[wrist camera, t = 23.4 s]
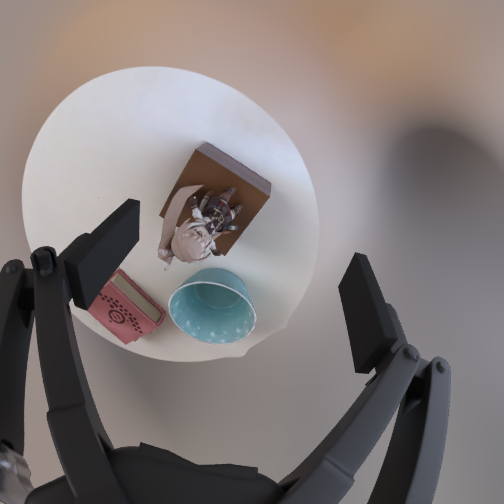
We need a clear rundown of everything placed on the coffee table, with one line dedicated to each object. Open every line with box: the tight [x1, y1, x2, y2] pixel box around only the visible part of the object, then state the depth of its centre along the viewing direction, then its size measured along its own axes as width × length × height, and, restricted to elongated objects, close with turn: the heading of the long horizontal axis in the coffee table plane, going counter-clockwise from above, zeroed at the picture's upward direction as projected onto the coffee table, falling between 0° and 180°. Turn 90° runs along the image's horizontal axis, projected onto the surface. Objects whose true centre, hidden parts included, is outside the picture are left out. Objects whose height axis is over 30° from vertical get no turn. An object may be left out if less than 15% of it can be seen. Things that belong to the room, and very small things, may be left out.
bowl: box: [168, 268, 256, 344], centre depth 51 cm, size 16×16×8 cm
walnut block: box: [159, 142, 271, 256], centre depth 42 cm, size 12×12×6 cm
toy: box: [157, 185, 243, 271], centre depth 34 cm, size 9×8×15 cm
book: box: [87, 268, 165, 344], centre depth 58 cm, size 14×15×5 cm
